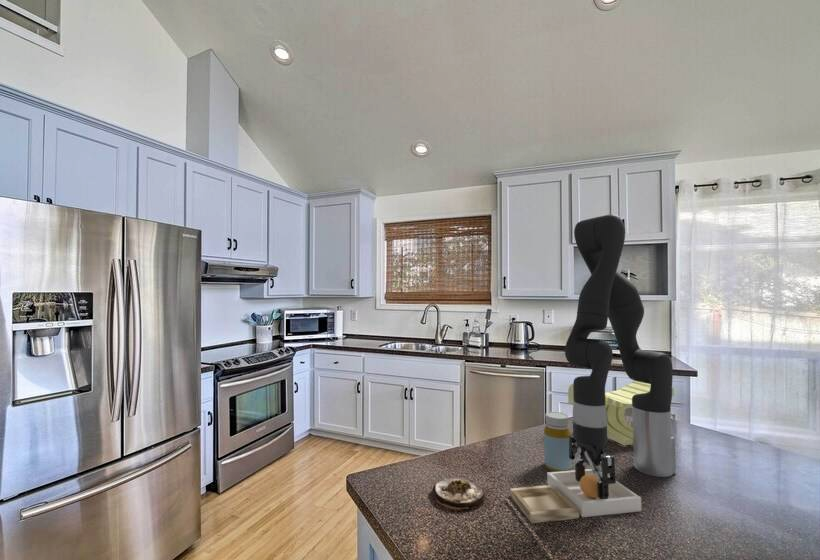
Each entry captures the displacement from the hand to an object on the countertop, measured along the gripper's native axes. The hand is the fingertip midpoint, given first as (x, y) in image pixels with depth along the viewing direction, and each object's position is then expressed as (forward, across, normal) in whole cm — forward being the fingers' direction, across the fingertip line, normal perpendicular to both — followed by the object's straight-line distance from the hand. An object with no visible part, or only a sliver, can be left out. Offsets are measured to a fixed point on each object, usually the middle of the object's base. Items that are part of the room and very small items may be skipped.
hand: (591, 489), depth 90 cm
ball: (+2, 0, 0) cm, 2 cm away
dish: (+2, 0, 0) cm, 2 cm away
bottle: (+3, +16, -1) cm, 16 cm away
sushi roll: (+3, +6, +31) cm, 32 cm away
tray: (+2, -2, +14) cm, 14 cm away
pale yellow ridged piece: (+3, +36, -36) cm, 51 cm away
